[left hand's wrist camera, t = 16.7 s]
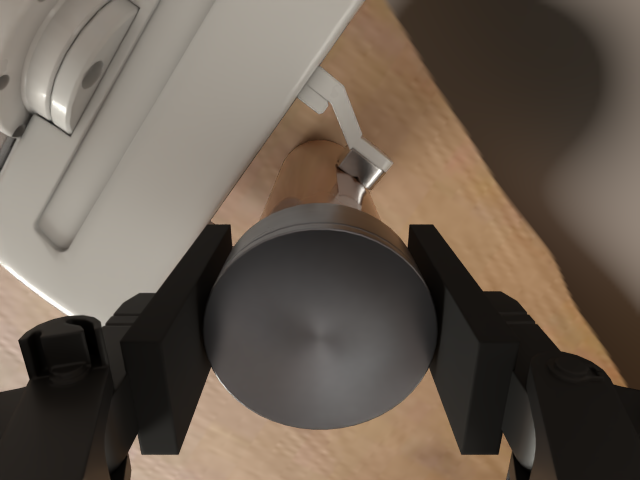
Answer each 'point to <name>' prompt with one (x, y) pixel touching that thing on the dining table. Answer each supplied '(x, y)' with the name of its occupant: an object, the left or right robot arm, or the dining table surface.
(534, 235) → the dining table surface
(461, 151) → the dining table surface
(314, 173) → the jar
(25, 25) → the right robot arm
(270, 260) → the lid
